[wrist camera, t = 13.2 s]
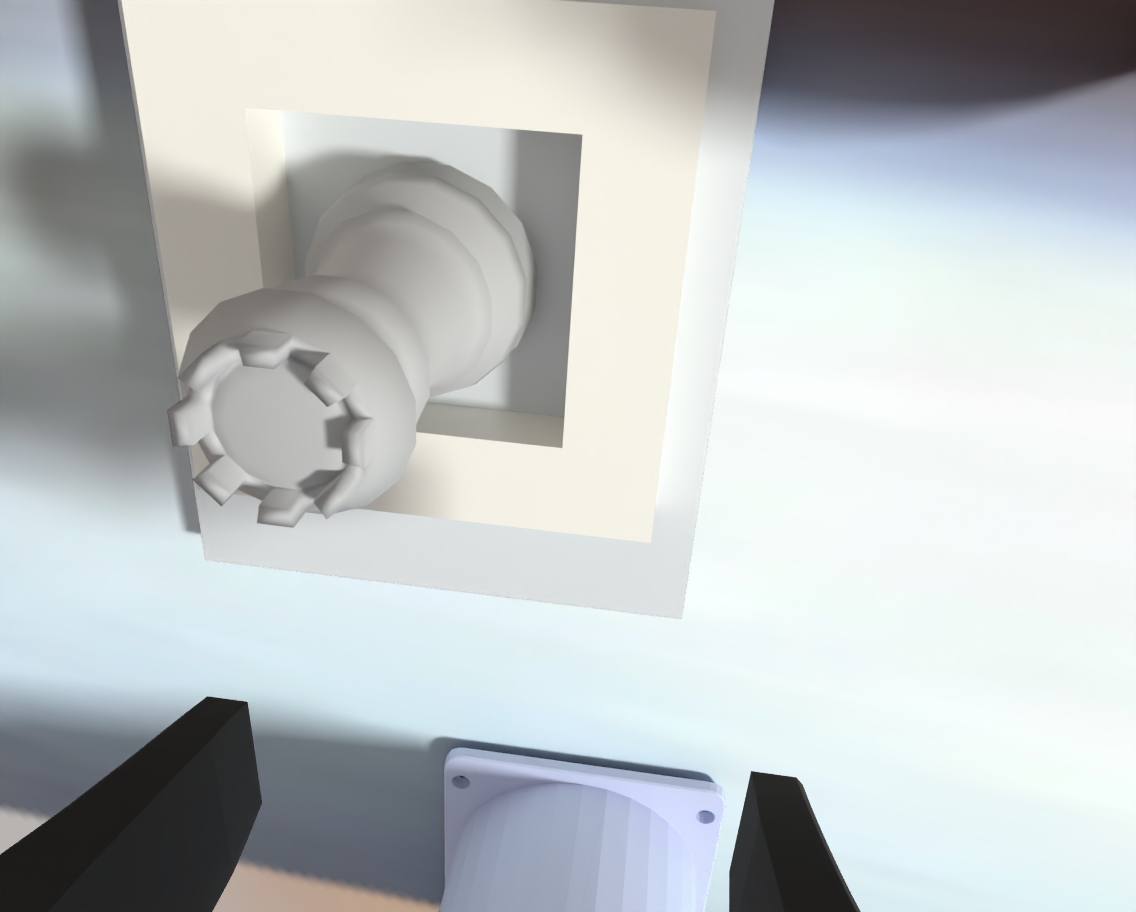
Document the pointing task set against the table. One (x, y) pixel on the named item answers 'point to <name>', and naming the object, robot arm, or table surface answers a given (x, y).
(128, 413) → the table surface
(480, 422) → the holder stand
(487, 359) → the rook chess piece
